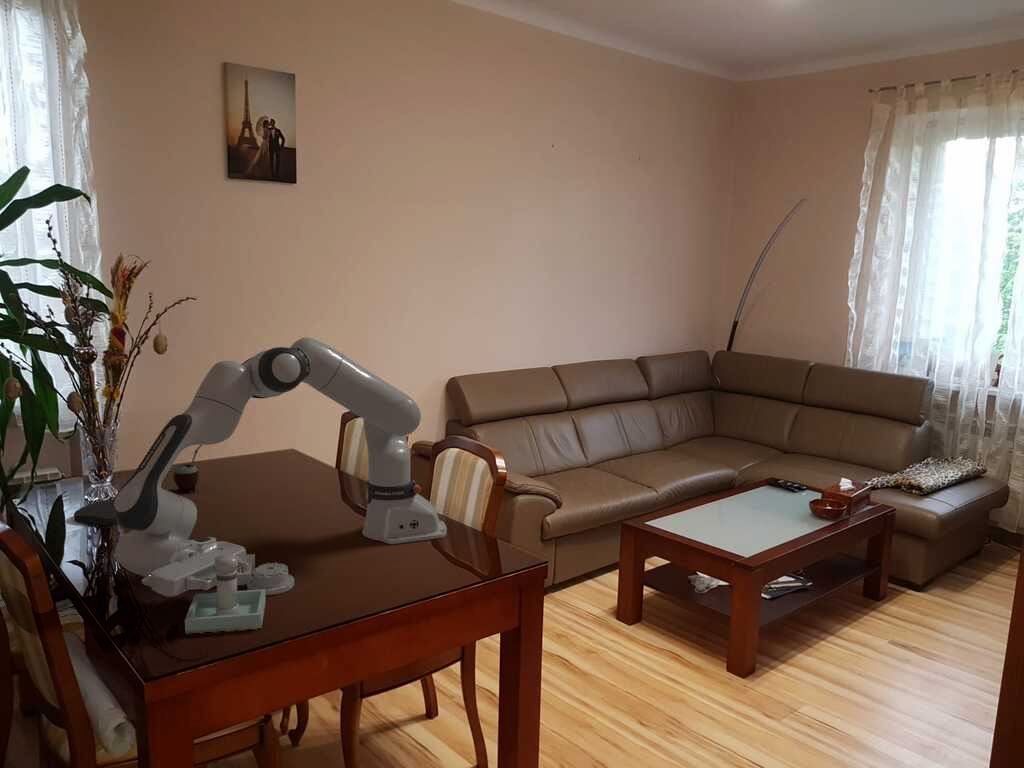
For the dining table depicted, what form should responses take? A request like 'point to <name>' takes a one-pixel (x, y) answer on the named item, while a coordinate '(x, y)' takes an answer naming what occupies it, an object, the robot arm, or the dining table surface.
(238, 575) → the grey square frame
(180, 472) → the mate gourd
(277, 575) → the mechanical component
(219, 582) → the grey peg
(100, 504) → the media streaming box
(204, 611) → the parts tray
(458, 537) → the dining table surface
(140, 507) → the robot arm
